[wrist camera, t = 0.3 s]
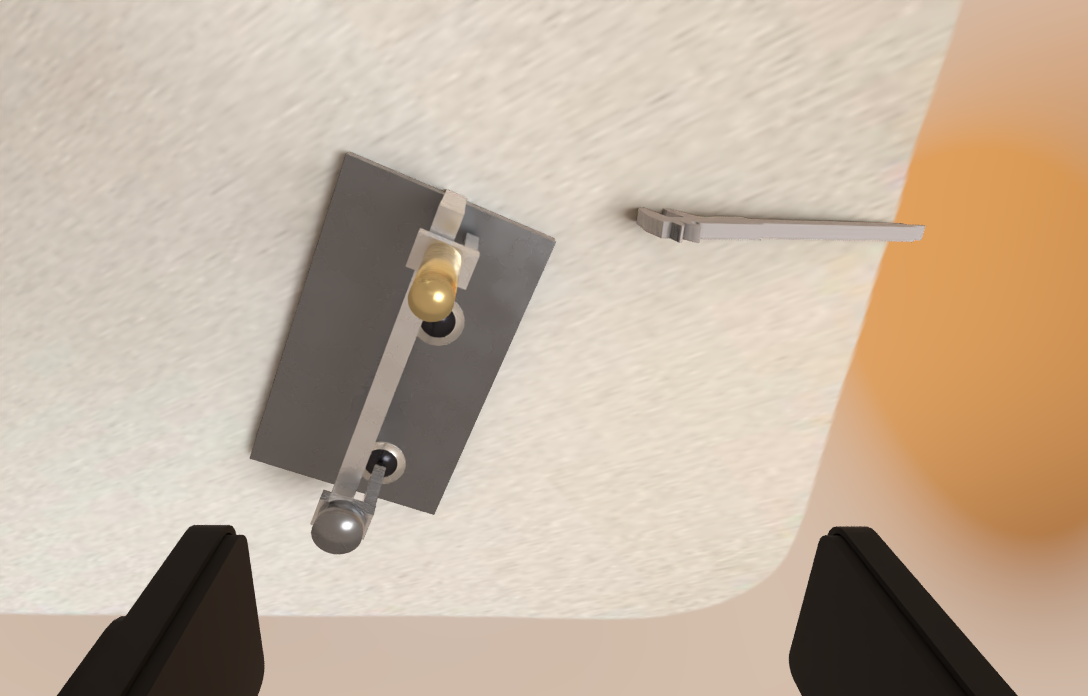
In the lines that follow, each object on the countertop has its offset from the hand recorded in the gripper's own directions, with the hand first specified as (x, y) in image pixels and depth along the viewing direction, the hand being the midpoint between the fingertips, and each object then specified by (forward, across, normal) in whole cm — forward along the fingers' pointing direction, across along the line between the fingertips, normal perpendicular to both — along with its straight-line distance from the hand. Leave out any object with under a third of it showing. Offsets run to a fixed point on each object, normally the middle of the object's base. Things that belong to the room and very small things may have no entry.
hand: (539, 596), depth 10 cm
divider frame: (+34, +7, +9) cm, 36 cm away
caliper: (+34, -19, 0) cm, 39 cm away
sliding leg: (+32, +4, +1) cm, 33 cm away
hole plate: (+34, +7, +10) cm, 36 cm away
